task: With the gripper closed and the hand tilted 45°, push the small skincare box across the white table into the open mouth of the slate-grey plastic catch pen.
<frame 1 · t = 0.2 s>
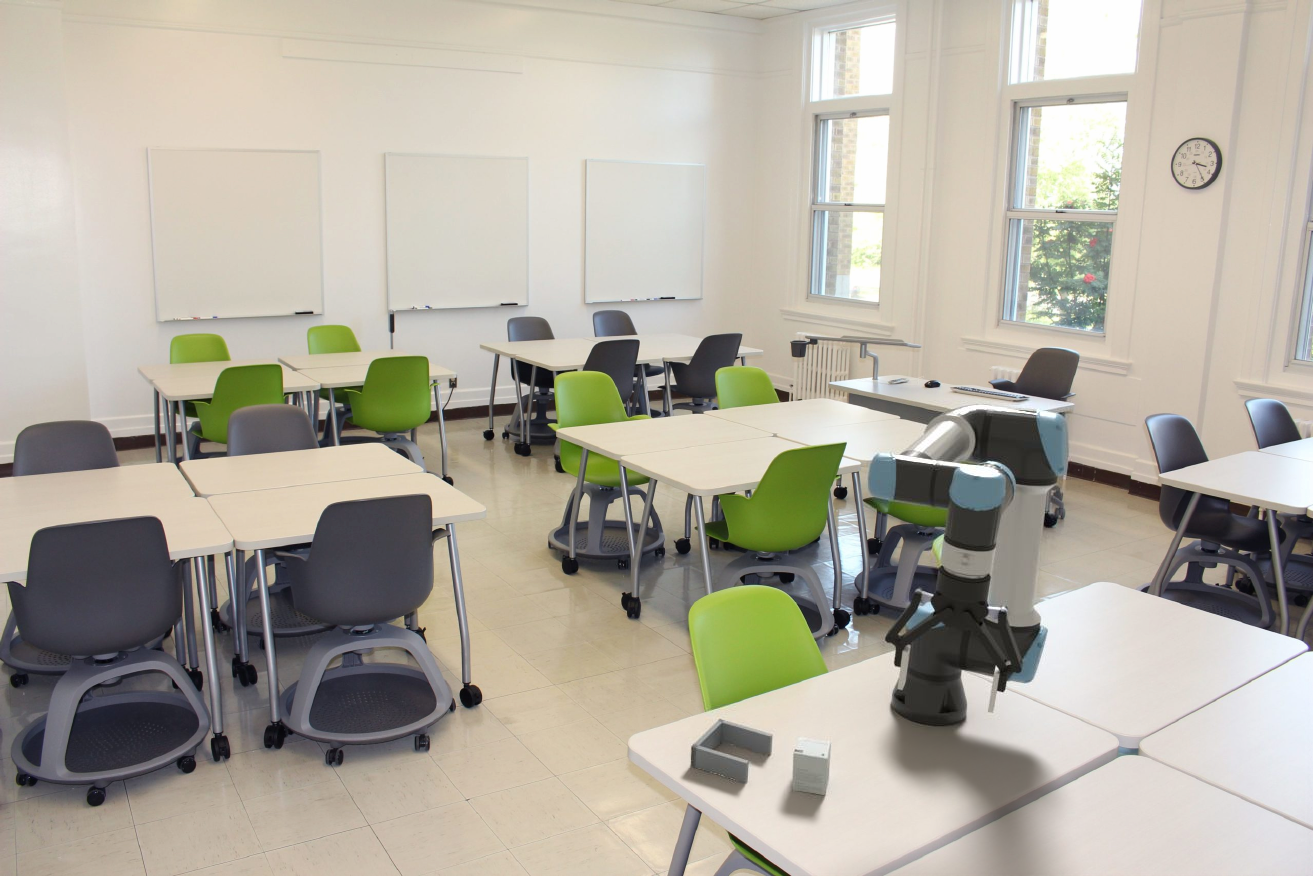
hand: (945, 697, 156), 27 cm above the table, tool pointing down, fingers open, 13 cm apart
catch pen: (733, 760, 187), on the table
skincare box: (810, 785, 180), on the table
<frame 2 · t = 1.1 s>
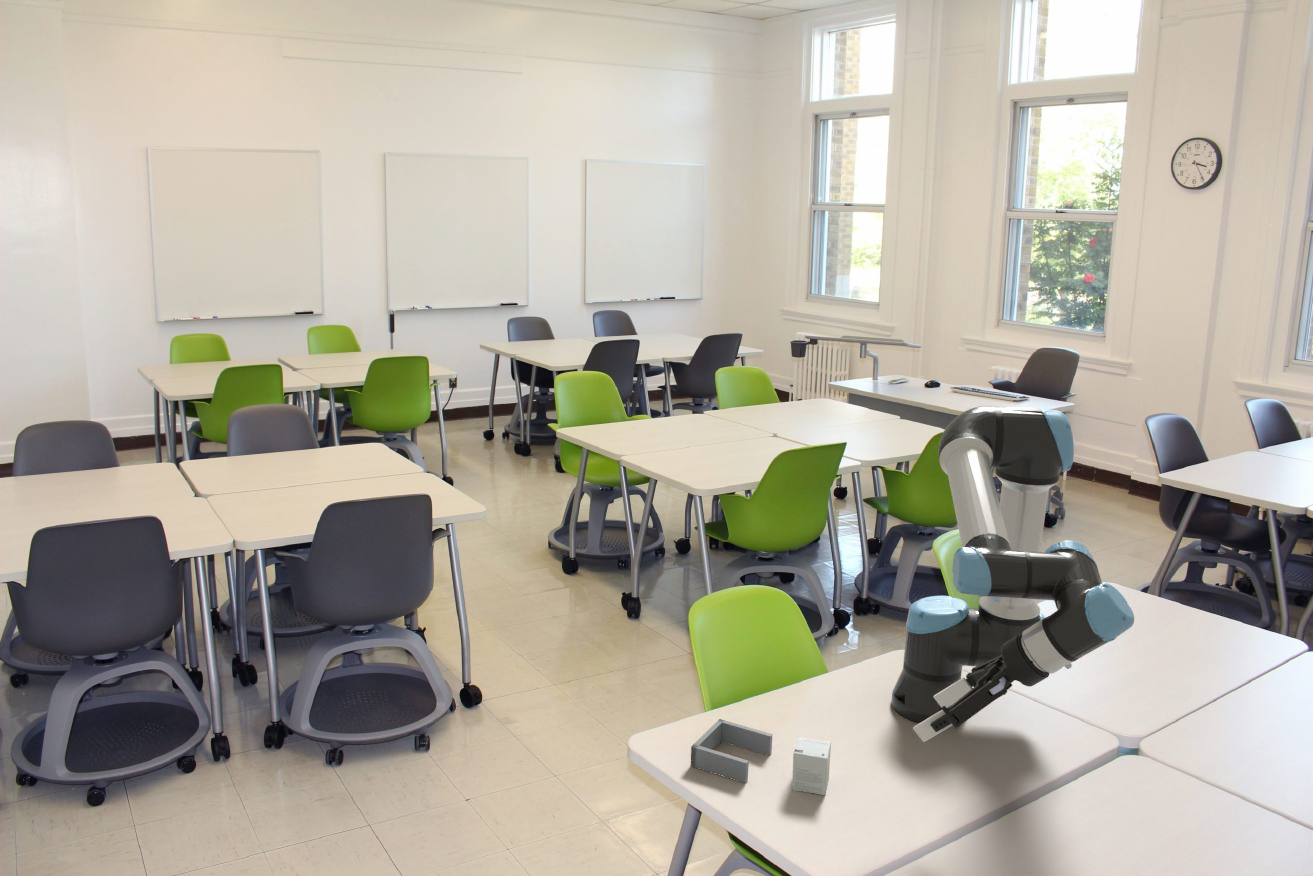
hand: (929, 718, 167), 18 cm above the table, tool tilted 45°, fingers open, 12 cm apart
nothing on the table moved.
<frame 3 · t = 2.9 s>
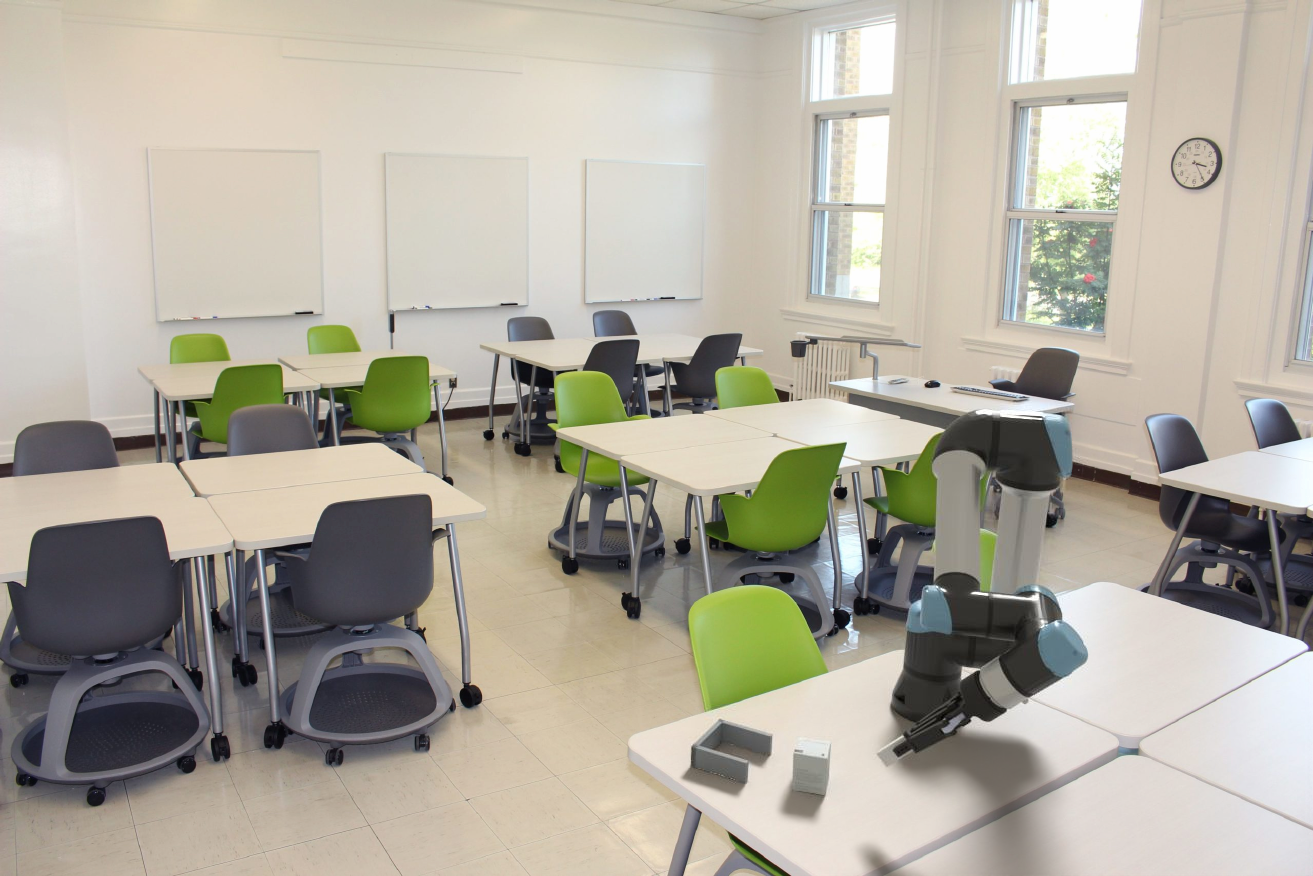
hand: (882, 758, 170), 10 cm above the table, tool tilted 45°, fingers closed
nothing on the table moved.
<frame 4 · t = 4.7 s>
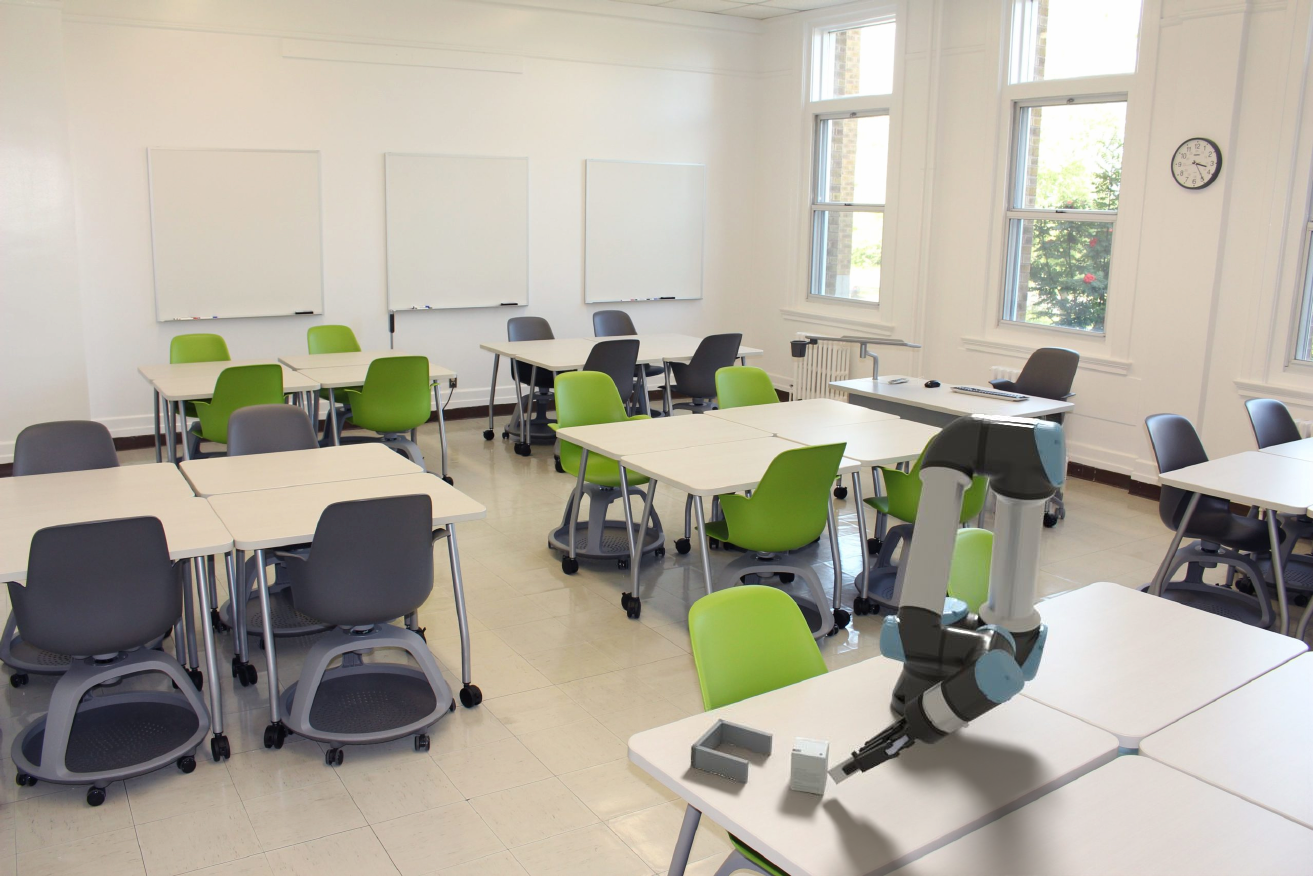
hand: (833, 776, 177), 3 cm above the table, tool tilted 45°, fingers closed
skincare box: (808, 785, 180), on the table, touching gripper
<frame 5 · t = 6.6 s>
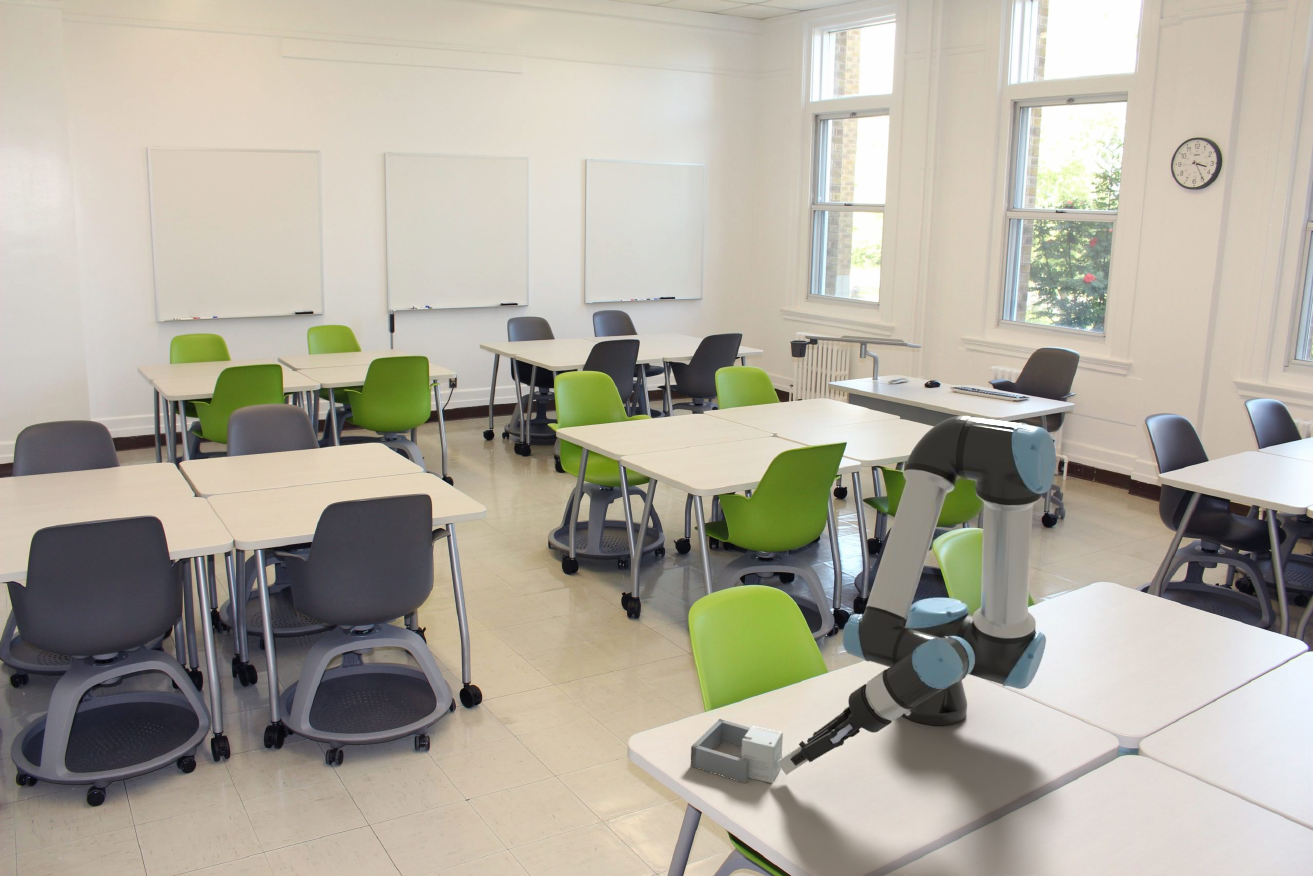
hand: (783, 766, 181), 3 cm above the table, tool tilted 45°, fingers closed
skincare box: (760, 773, 184), on the table, touching gripper
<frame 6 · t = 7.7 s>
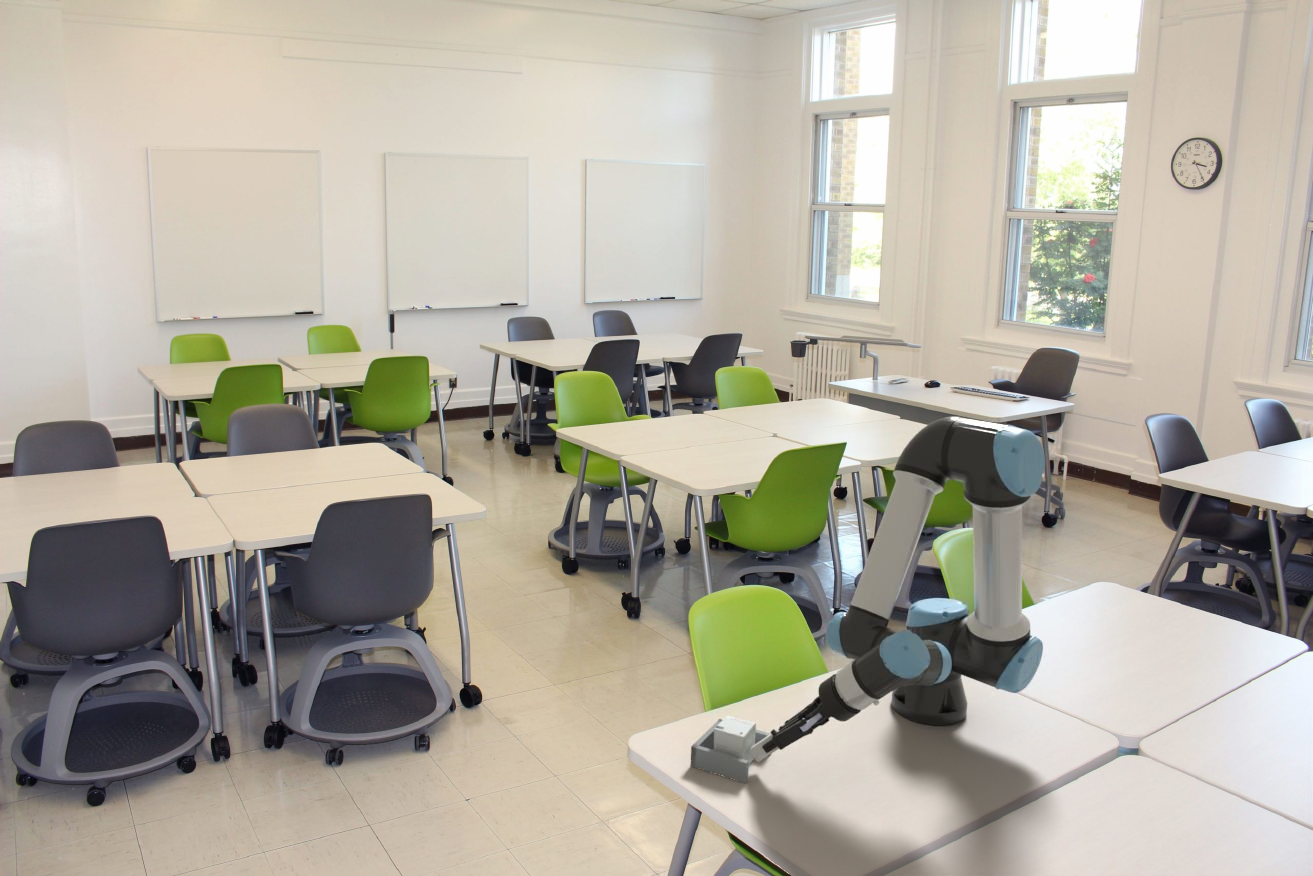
hand: (755, 754, 184), 3 cm above the table, tool tilted 45°, fingers closed
skincare box: (733, 762, 187), on the table, touching gripper
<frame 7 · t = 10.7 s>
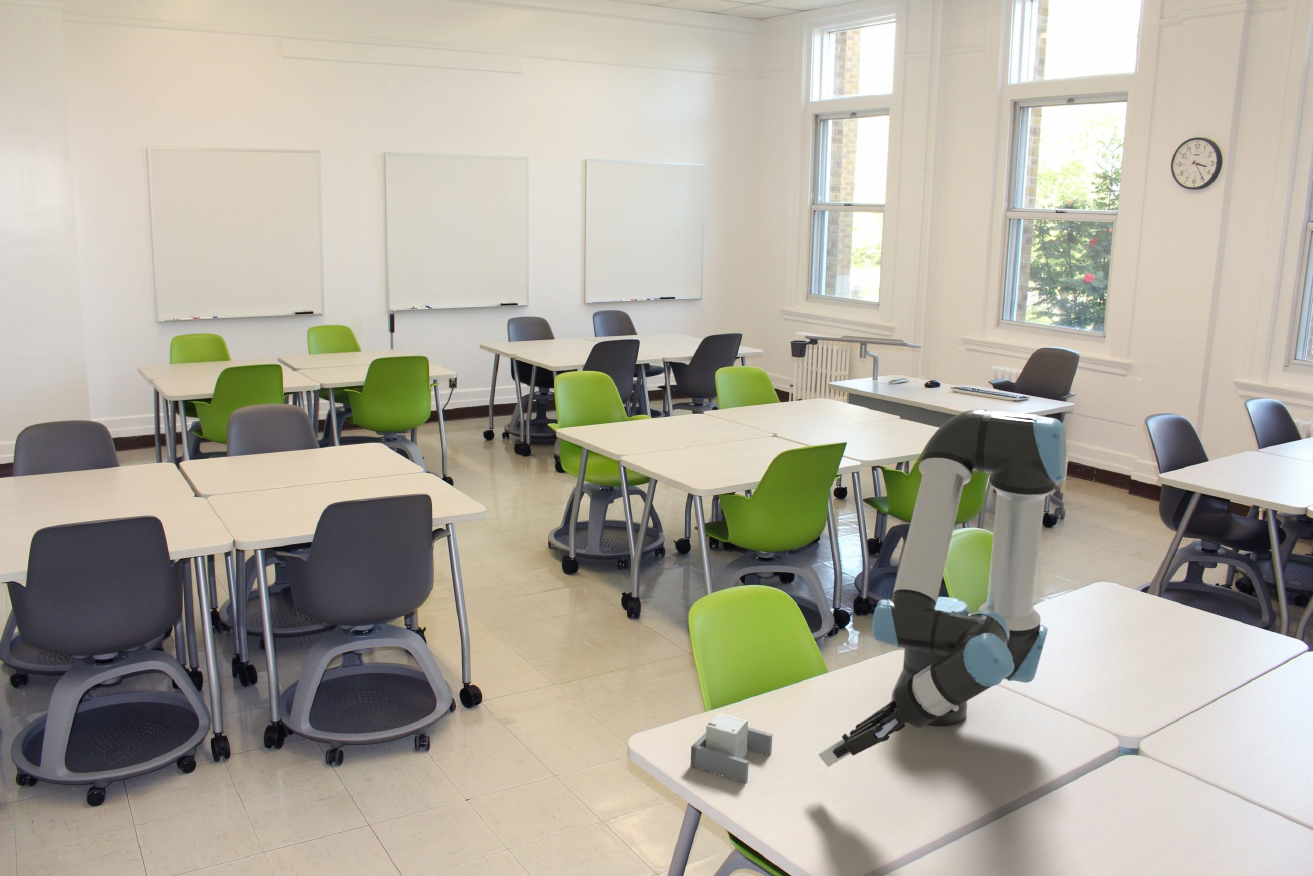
hand: (824, 758, 177), 6 cm above the table, tool tilted 45°, fingers closed
skincare box: (725, 759, 188), on the table
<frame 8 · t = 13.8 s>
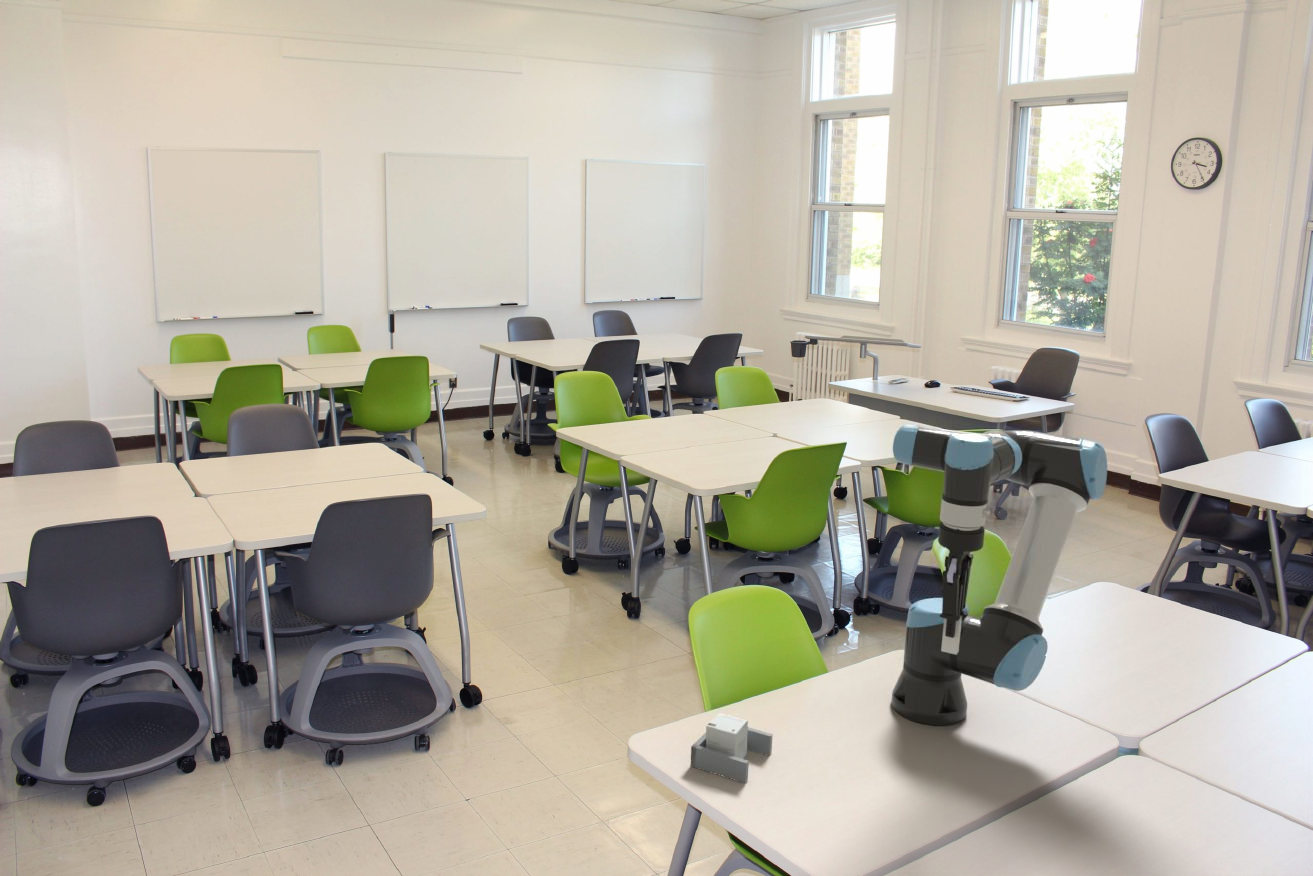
hand: (949, 651, 179), 24 cm above the table, tool pointing down, fingers closed
nothing on the table moved.
at the end: skincare box inside the target area on the catch pen (0.1 cm from its centre), point 0.0 cm above the catch pen's base; skincare box tilted 0° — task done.
